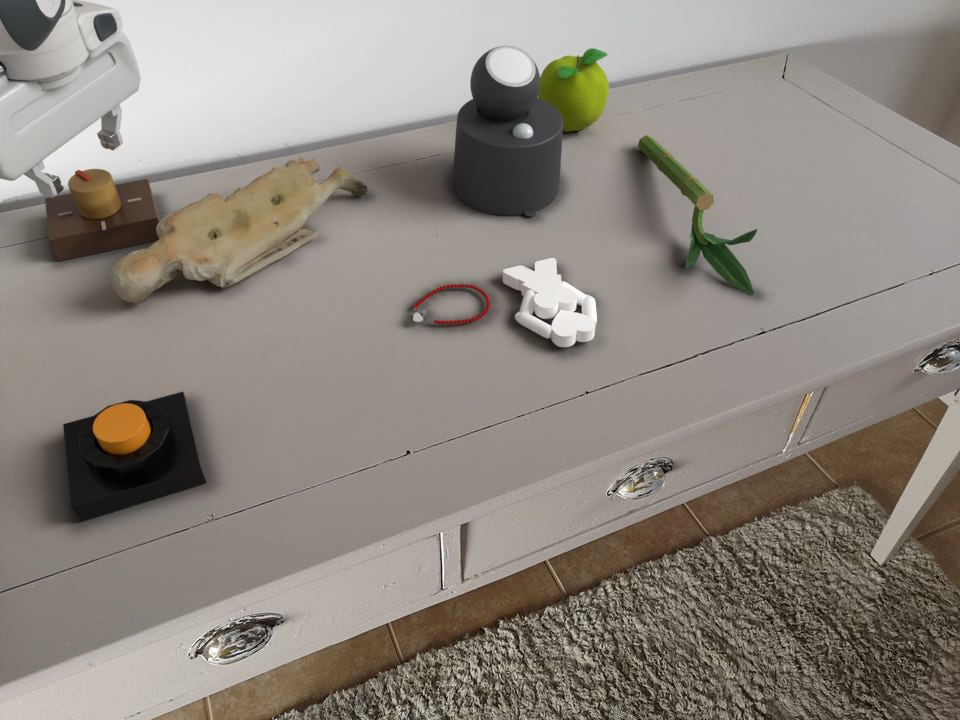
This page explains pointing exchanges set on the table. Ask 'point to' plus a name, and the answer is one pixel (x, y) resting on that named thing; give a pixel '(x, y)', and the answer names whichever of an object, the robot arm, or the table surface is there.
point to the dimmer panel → (102, 223)
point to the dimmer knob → (94, 193)
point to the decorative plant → (700, 218)
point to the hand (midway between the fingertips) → (84, 168)
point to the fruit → (576, 88)
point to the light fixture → (507, 138)
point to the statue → (232, 231)
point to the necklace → (420, 314)
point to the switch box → (133, 461)
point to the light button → (122, 429)
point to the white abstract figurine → (552, 304)
